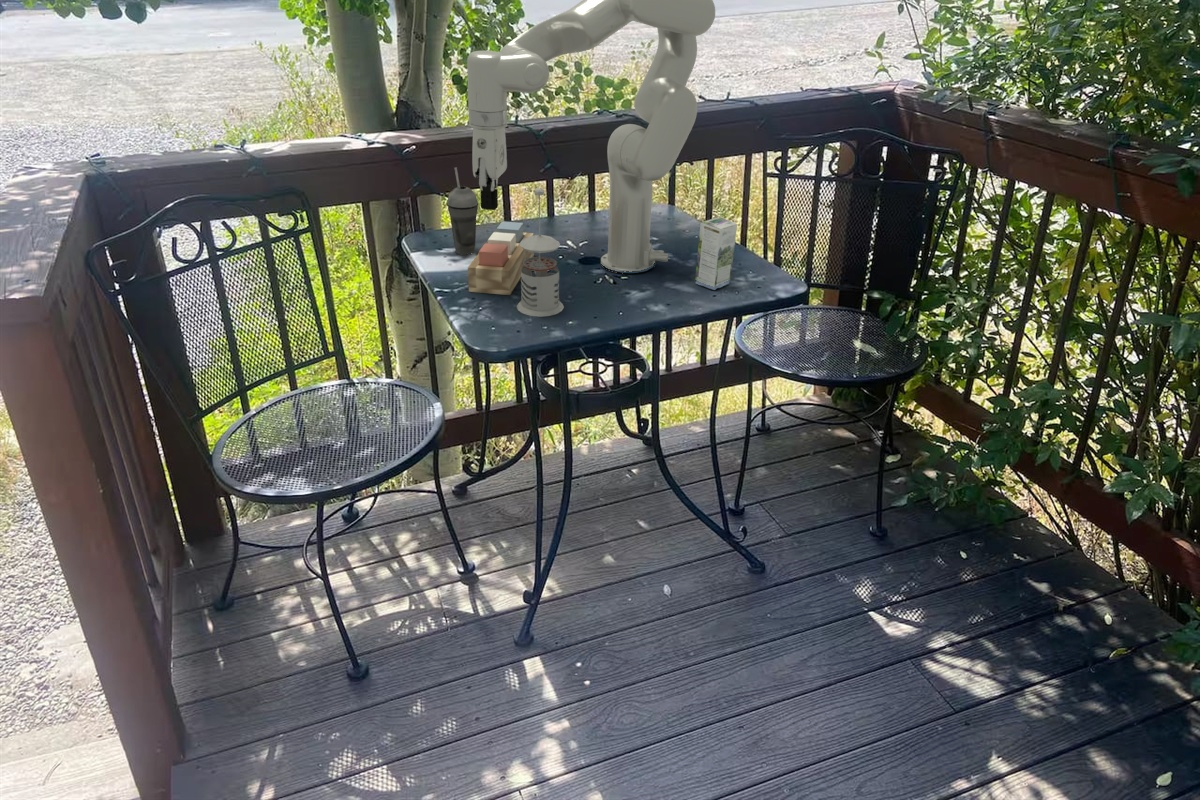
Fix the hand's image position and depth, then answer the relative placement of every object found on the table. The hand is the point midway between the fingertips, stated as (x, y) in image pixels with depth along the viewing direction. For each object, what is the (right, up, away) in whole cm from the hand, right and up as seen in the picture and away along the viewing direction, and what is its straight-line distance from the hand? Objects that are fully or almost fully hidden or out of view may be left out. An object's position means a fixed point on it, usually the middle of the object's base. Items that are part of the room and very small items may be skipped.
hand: (489, 208), depth 184 cm
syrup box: (+48, -14, +12) cm, 52 cm away
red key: (0, -11, +7) cm, 13 cm away
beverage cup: (-9, -5, +26) cm, 28 cm away
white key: (+1, -7, +13) cm, 15 cm away
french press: (+10, -20, +1) cm, 23 cm away
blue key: (+2, -4, +20) cm, 20 cm away
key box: (+1, -11, +15) cm, 19 cm away
